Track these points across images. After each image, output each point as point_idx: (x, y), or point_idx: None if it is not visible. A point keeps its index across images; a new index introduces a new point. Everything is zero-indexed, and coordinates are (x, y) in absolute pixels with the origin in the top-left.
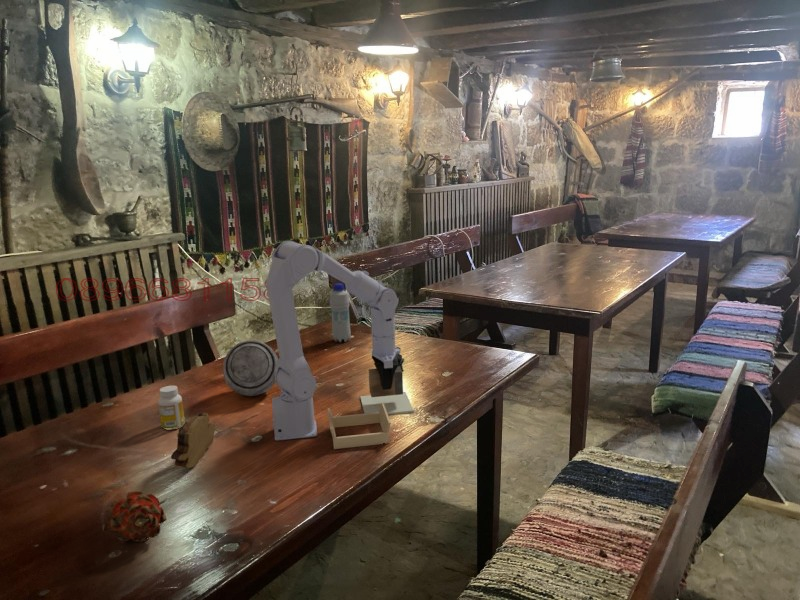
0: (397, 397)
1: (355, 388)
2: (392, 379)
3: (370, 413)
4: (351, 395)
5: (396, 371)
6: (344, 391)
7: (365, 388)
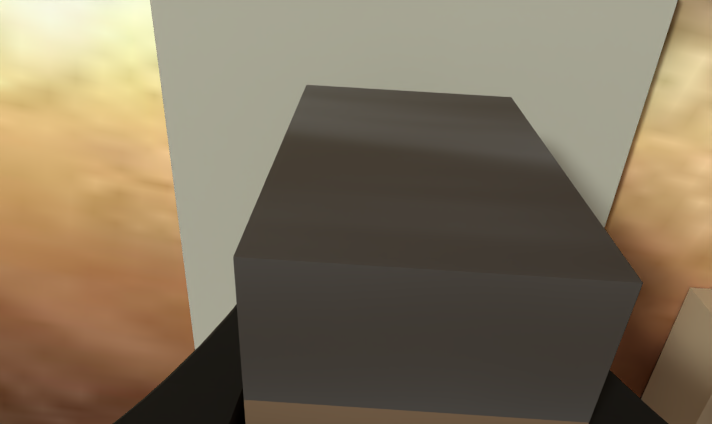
0: (290, 81)
1: (5, 342)
2: (621, 383)
3: (710, 415)
4: (142, 382)
5: (549, 381)
6: (64, 407)
7: (4, 281)
